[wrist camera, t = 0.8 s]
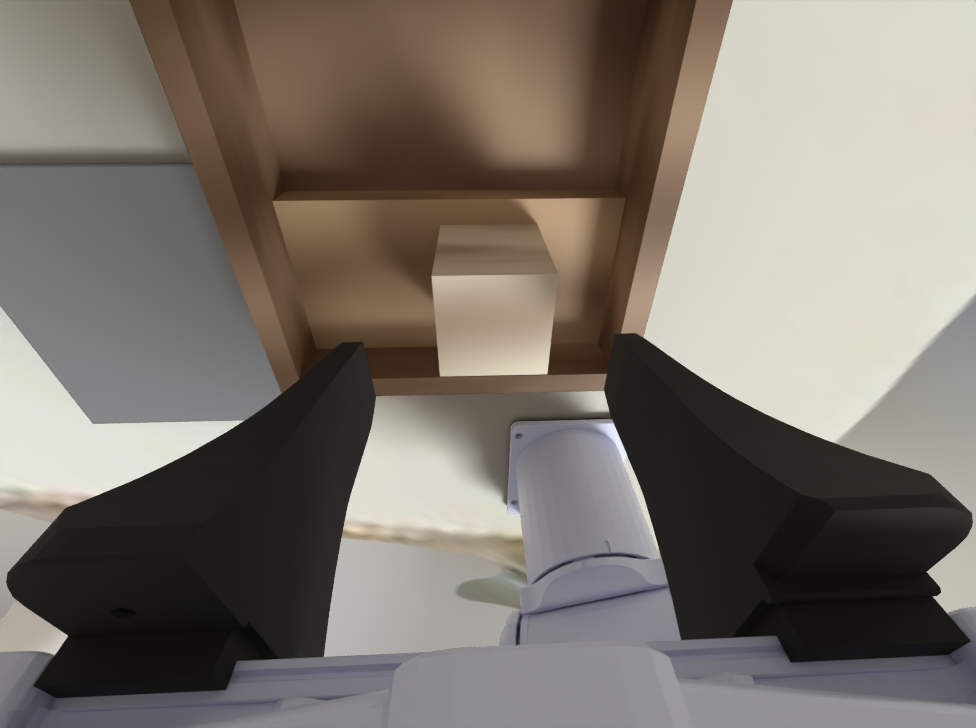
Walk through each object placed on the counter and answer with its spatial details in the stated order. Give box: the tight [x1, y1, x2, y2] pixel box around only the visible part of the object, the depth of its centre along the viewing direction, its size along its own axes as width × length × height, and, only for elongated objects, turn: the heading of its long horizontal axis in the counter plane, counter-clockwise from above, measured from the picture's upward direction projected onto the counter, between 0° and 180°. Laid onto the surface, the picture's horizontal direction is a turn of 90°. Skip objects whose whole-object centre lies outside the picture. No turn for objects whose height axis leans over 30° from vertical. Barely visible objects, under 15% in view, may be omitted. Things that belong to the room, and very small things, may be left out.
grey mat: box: [0, 163, 281, 424], centre depth 21 cm, size 14×12×1 cm
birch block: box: [431, 224, 558, 377], centre depth 16 cm, size 4×4×5 cm
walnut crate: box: [129, 0, 733, 396], centre depth 16 cm, size 16×16×4 cm
